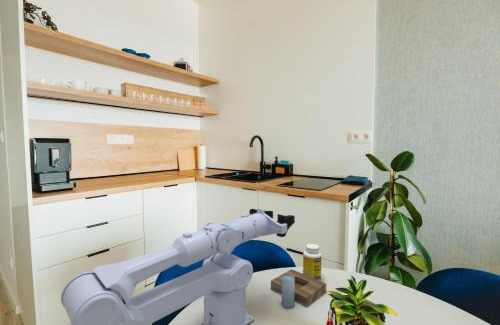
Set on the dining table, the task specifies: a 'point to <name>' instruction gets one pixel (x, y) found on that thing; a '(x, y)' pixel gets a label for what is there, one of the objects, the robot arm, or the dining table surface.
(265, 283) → the dining table surface
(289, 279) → the dowel
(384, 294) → the dining table surface
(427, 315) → the dining table surface
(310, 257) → the supplement bottle
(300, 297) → the socket block
